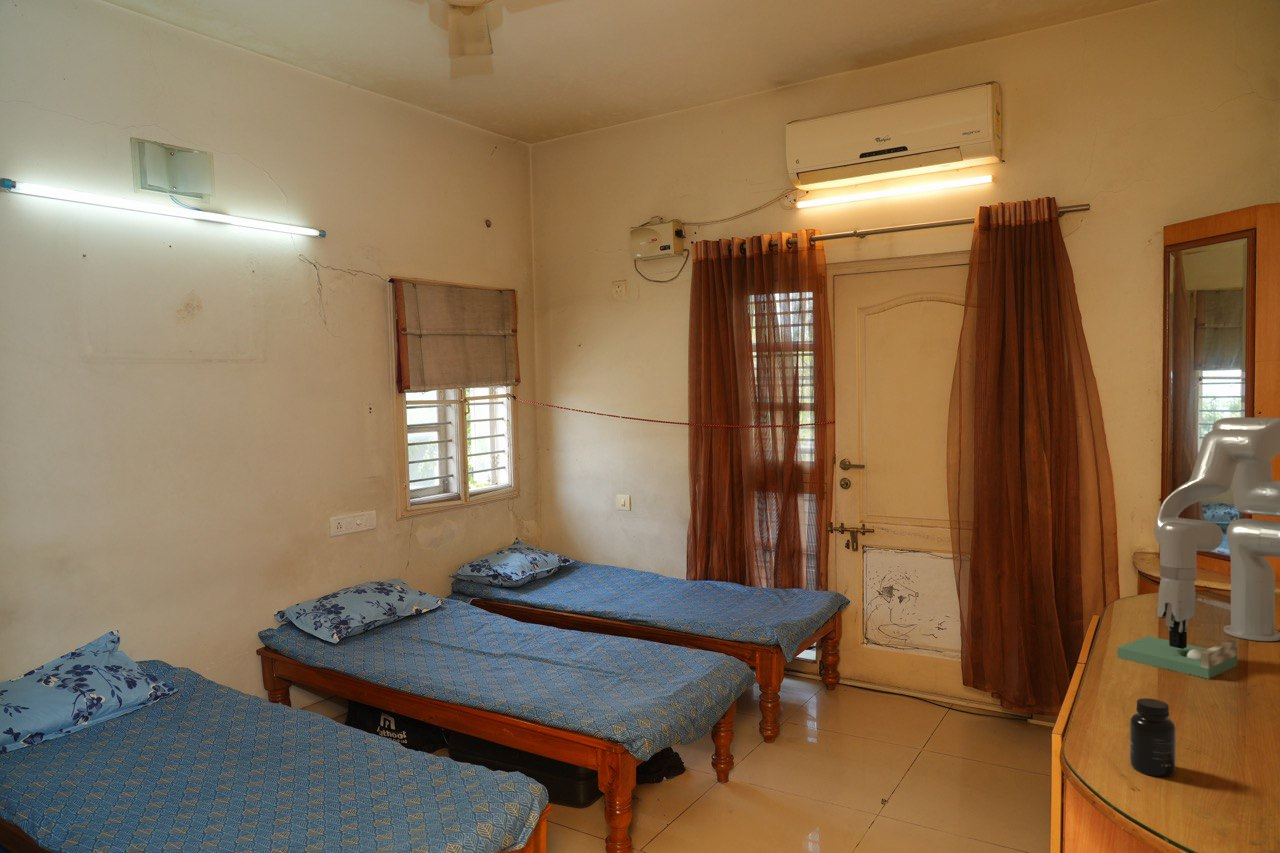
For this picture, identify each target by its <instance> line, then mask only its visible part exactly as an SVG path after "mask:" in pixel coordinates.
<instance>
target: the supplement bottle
mask: <svg viewBox="0 0 1280 853" xmlns="http://www.w3.org/2000/svg"><path fill="white" fill-rule="evenodd" d="M1169 708H1170V706H1169V704H1168V703H1166V702H1165V701H1162V700H1160V699H1155V698H1150V697H1148V698H1147V697H1146V698H1145V697H1142V698H1138V699H1137V700H1136V708H1135V709H1136V713H1134V714H1133V715H1131V717H1130V720H1129V727H1130V728H1129V761H1130V763H1129V764H1130V765H1131V767H1132V768H1133V769H1134V770H1136V771H1137V772H1139V773H1141V774H1143V775H1146V776H1149V777H1156V778H1168V777H1171V776H1174V774H1175V773H1176V752H1177V751H1176V743H1177V742H1176V733H1177V732H1176V725H1175V723H1174V722H1173V720H1172V719H1170V718H1169V717H1170V712H1169V711H1170V710H1169Z"/></svg>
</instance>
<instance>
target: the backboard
mask: <svg viewBox="0 0 1280 853" xmlns="http://www.w3.org/2000/svg"><path fill="white" fill-rule="evenodd" d="M1206 649H1207V650H1205V651H1202V652H1201V667H1204V668H1208V669H1209V668H1211V667H1213V666H1215V665H1217V664H1219V663H1221V662H1224V661H1226V660H1228V659H1230V658H1232V657H1234V656H1236V655H1237V656H1238V640H1235V639H1228V640H1225V641H1223V642H1221V643H1219V644H1216V645H1213V646H1212V647H1209V648H1206Z"/></svg>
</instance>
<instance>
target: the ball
mask: <svg viewBox="0 0 1280 853" xmlns="http://www.w3.org/2000/svg"><path fill="white" fill-rule="evenodd" d="M1201 652H1202V651H1201V650H1198V649H1192V650H1190V651H1189V652H1188V653H1187V657H1188V658H1192V659H1197V660H1201Z"/></svg>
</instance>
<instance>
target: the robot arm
mask: <svg viewBox="0 0 1280 853" xmlns="http://www.w3.org/2000/svg"><path fill="white" fill-rule="evenodd" d="M1278 455H1280V417H1251V416H1250V417H1245V416H1244V417H1243V416H1241V417H1240V416H1238V417H1236V416H1235V417H1222V418H1221V419H1217V420H1216V421H1215V422H1213V425H1212V428H1211V431H1209V432H1208V433H1206V434H1205V435H1204V437H1203V439H1202V441H1201V445H1200V448H1199V451H1198V455H1197V458H1196V460H1195V462H1194V466H1193V469H1192V473H1191V475H1190V478H1189V480H1188V481H1186V482H1185V483H1183V484H1182V485H1180V486H1178V487H1177V488H1176V489H1175V490H1173V491H1172V492H1171V493H1170V494H1169V495H1168V496H1167V497H1166V498H1165V499H1164V500H1163V502H1162V503H1161V505H1160V508H1159V510H1158V514H1157V517H1156V519H1155V524H1154V538H1155V540H1156V541H1157V542H1158V543H1159V578H1160V582H1159V586H1158V596H1157V598H1158V599H1157V611H1156V612H1157V617H1158V619H1161V620H1162V619H1165V623H1164V625H1165V626H1166V627H1168V632H1169V635H1168V636H1169V639H1168V640H1169V645H1170V646H1171V647H1176V648H1180V649H1184V648H1186V647H1187V644H1188V642H1187V640H1188V636H1187V635H1188V634H1187V632H1188V626H1189V622H1190V620H1191V618H1193V617H1194V616H1195V615H1196V612H1197V608H1196V606H1197V600H1196V597H1197V596H1196V585H1195V582H1198V581H1197V575H1198V574H1197V566H1198V564H1197V559H1198V558H1197V555H1198V554H1197V552H1211V551H1215V550H1217V549H1218V548H1219V547H1220V546H1221V545H1222V543H1223V541H1224V532H1223V530H1222V528H1221V526H1219V525H1218V524H1217V523H1215V522H1214V521H1208V520H1200V519H1193V518H1184V517H1179V516H1180V514H1181V512H1183V511H1184V510H1185V509H1186V508H1188V507H1189V506H1191V505H1193V504H1196V503H1198V502H1201V501H1205V500H1208V499H1213V498H1215V497H1219V496H1221V495H1224V494H1226V493H1228V491H1229V490H1230V489H1231V485H1232V500H1233V506H1234V508H1235V510H1236V511H1238V512H1240V513H1243V514H1247V515H1256V516H1265V517H1275V518H1280V480H1274V478H1273V466H1272V459H1274V458H1275V457H1278ZM1226 528H1227V529H1226V540H1227V545H1228V550H1229V556H1230V624H1227V625H1225V626H1224V627H1223V632H1224V633H1225V634H1227V635H1229V636H1231V637H1233V638H1234V637H1235V638H1239V639H1243V640H1249V641H1259V642H1276V641H1278V642H1279V641H1280V632H1279V631H1278V630H1276V628H1275V626H1276V625H1275V624H1276V623H1275V622H1276V617H1275V616H1276V615H1275V614H1276V611H1275V608H1276V606H1275V605H1276V603H1275V602H1276V599H1275V598H1276V594H1275V593H1276V591H1275V589H1276V583H1275V582H1276V575H1275V569H1274V568H1273V566H1272V564H1271V563H1270V561H1269V560H1268V559H1267V558H1266V557H1270V558H1276V559H1280V521H1275V520H1266V519H1258V518H1257V519H1255V518H1238V519H1235V520H1232V522H1230V523H1229V525H1228V526H1227V527H1226Z"/></svg>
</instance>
